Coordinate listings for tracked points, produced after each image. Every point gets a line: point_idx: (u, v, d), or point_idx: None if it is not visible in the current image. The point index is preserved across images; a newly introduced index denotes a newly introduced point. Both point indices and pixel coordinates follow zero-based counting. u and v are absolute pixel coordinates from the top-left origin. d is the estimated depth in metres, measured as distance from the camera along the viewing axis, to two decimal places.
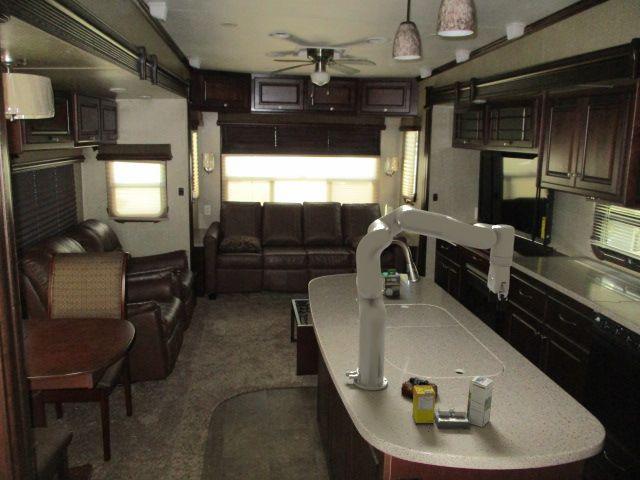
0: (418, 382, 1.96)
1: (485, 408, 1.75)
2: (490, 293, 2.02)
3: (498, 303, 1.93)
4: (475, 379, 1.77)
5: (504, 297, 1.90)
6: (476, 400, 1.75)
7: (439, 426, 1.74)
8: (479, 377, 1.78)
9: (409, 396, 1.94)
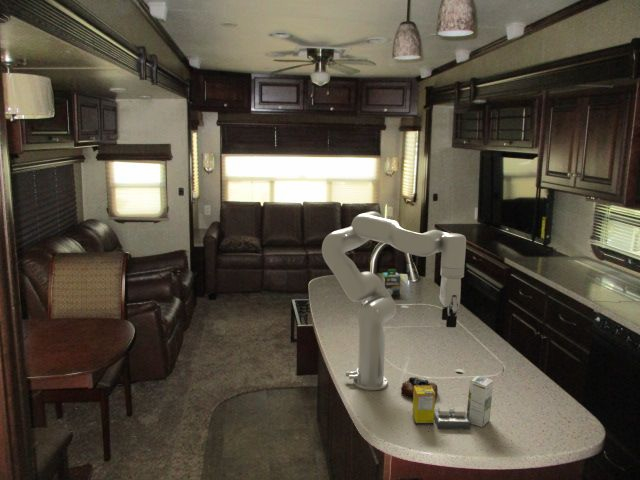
0: (418, 382, 1.96)
1: (485, 408, 1.75)
2: (443, 310, 1.87)
3: (447, 319, 1.80)
4: (475, 379, 1.77)
5: (453, 313, 1.78)
6: (476, 400, 1.75)
7: (439, 426, 1.74)
8: (479, 377, 1.78)
9: (409, 396, 1.94)
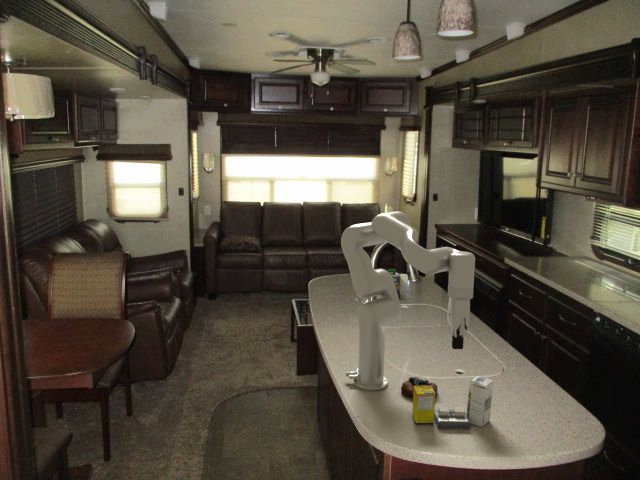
0: (418, 382, 1.96)
1: (485, 408, 1.75)
2: None
3: (454, 340, 1.72)
4: (475, 379, 1.77)
5: None
6: (476, 400, 1.75)
7: (439, 426, 1.74)
8: (479, 377, 1.78)
9: (409, 396, 1.94)
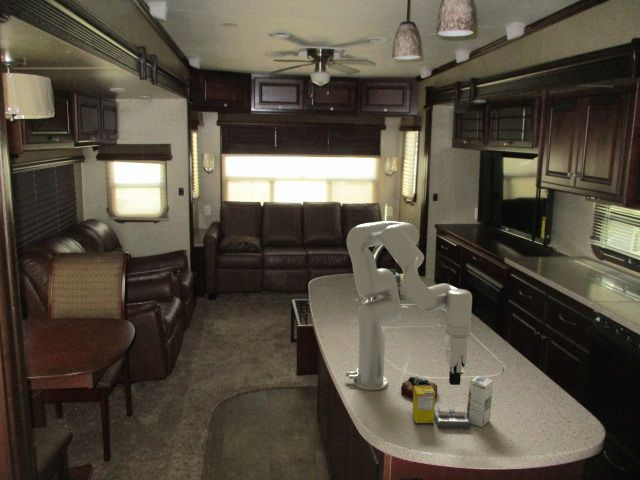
0: (418, 381, 1.97)
1: (485, 408, 1.75)
2: None
3: (451, 376, 1.74)
4: (475, 379, 1.77)
5: None
6: (476, 400, 1.75)
7: (439, 426, 1.74)
8: (479, 377, 1.78)
9: (409, 395, 1.94)
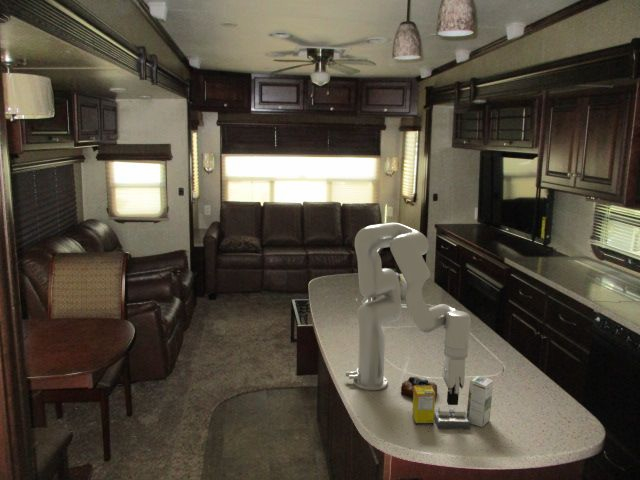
0: (418, 381, 1.97)
1: (485, 408, 1.75)
2: None
3: (449, 397, 1.76)
4: (475, 379, 1.77)
5: None
6: (476, 400, 1.75)
7: (439, 426, 1.74)
8: (479, 377, 1.78)
9: (409, 395, 1.94)
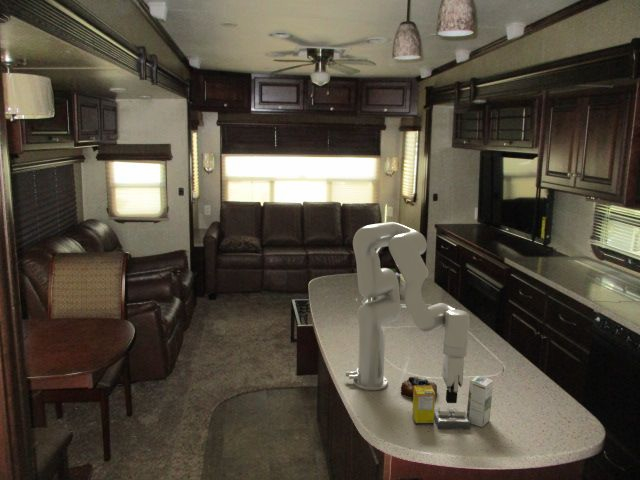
0: (418, 381, 1.97)
1: (485, 408, 1.75)
2: None
3: (448, 395, 1.77)
4: (475, 379, 1.77)
5: None
6: (476, 400, 1.75)
7: (439, 426, 1.74)
8: (479, 377, 1.78)
9: (409, 395, 1.94)
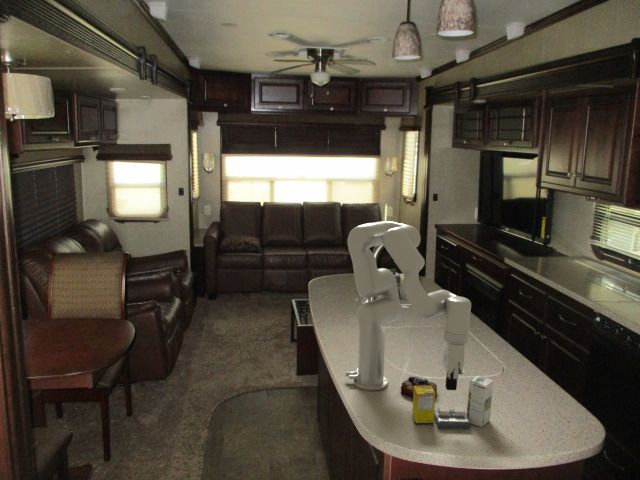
0: (418, 381, 1.97)
1: (485, 408, 1.75)
2: None
3: (448, 382, 1.77)
4: (475, 379, 1.77)
5: None
6: (476, 400, 1.75)
7: (439, 426, 1.74)
8: (479, 377, 1.78)
9: (409, 395, 1.95)
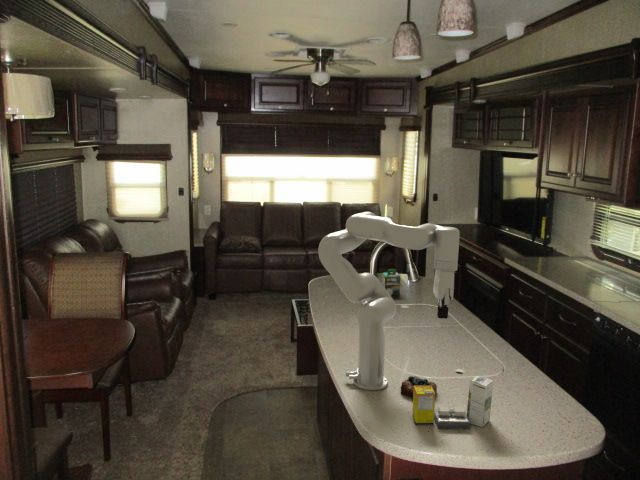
0: (417, 381, 1.97)
1: (485, 408, 1.75)
2: None
3: (439, 310, 1.84)
4: (475, 379, 1.77)
5: None
6: (476, 400, 1.75)
7: (439, 426, 1.74)
8: (479, 377, 1.78)
9: (409, 395, 1.95)
